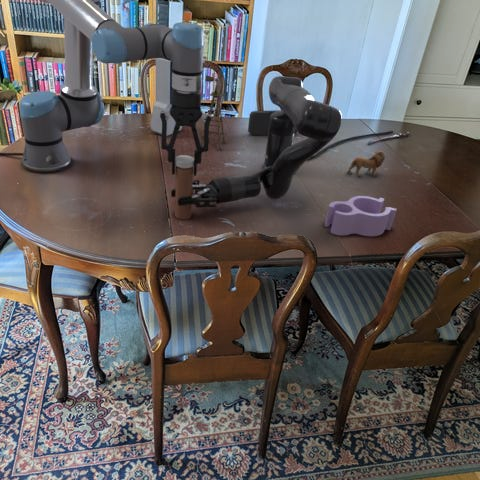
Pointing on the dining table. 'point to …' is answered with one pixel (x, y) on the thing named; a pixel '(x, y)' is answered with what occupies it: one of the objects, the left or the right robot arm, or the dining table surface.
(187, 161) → the lid
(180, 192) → the jar
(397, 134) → the sword
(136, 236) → the dining table surface
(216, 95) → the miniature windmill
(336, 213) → the clip
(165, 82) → the electronic device
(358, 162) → the lion figurine
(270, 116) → the right robot arm
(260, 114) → the handheld gaming console
